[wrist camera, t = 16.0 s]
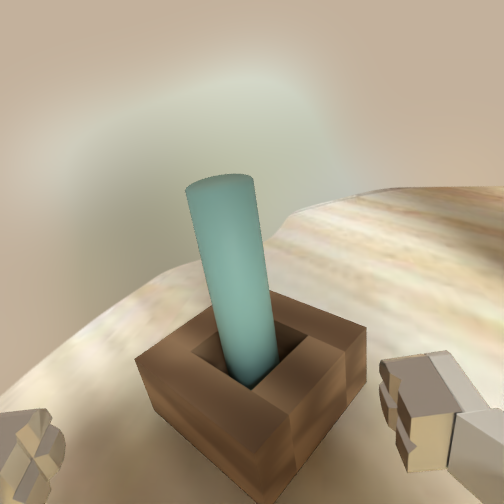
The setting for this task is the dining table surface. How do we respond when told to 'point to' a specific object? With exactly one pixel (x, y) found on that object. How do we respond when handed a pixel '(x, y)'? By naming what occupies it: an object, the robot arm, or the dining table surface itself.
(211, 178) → the peg
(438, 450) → the robot arm
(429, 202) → the dining table surface
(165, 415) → the socket block
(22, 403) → the dining table surface
